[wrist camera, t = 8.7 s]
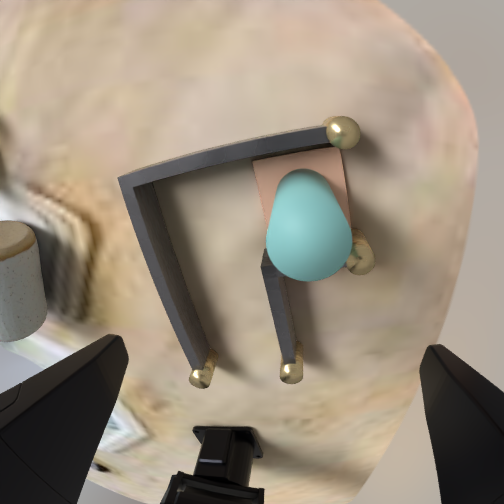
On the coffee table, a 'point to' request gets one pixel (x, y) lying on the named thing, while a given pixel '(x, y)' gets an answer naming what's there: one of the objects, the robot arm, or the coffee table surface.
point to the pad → (316, 159)
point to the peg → (307, 228)
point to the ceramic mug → (20, 282)
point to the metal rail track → (359, 261)
